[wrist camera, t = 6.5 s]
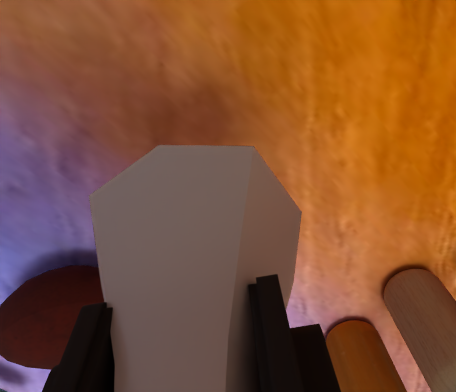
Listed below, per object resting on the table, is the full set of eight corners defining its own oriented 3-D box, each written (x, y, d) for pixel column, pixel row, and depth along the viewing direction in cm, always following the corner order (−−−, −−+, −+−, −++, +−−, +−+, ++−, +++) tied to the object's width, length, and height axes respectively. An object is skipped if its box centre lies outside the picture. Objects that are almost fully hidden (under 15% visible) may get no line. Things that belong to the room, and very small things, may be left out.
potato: (110, 288, 26) (119, 235, 31) (-51, 332, 26) (-14, 271, 31) (147, 367, 29) (150, 307, 35) (5, 407, 29) (30, 340, 35)
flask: (273, 106, 13) (423, 407, 4) (321, 288, 16) (461, 682, 7) (51, 175, 13) (-260, 560, 5) (140, 335, 17) (59, 746, 8)
